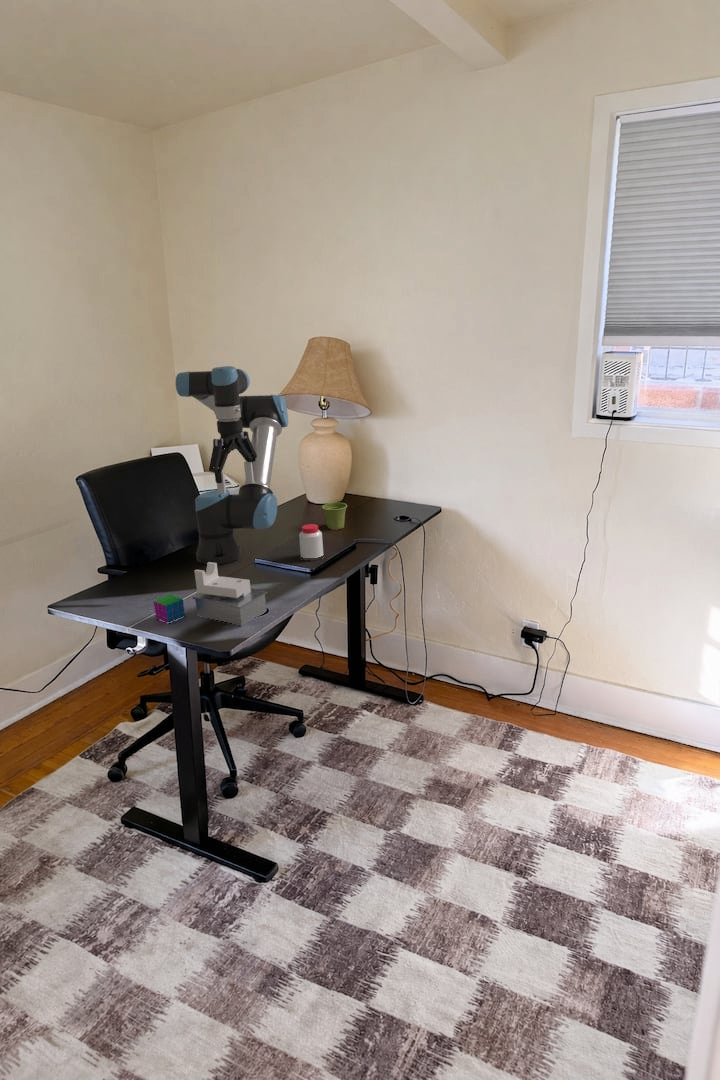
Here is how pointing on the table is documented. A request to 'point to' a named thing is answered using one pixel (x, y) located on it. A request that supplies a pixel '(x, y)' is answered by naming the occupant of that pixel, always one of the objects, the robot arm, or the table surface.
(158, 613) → the puzzle toy
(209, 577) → the bracket
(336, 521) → the plant pot
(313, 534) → the pill bottle
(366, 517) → the table surface
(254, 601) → the gray rectangular block
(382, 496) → the table surface
